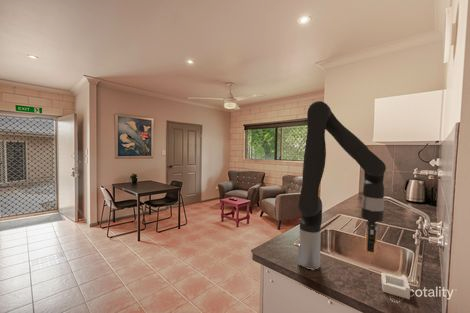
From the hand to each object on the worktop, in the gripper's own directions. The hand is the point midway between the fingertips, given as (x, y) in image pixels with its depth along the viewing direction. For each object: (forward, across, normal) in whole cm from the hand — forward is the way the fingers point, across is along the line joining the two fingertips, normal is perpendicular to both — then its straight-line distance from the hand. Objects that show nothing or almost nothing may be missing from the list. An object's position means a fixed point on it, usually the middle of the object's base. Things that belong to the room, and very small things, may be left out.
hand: (370, 248), depth 86 cm
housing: (+13, 0, +8) cm, 16 cm away
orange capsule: (+1, 0, 0) cm, 1 cm away
